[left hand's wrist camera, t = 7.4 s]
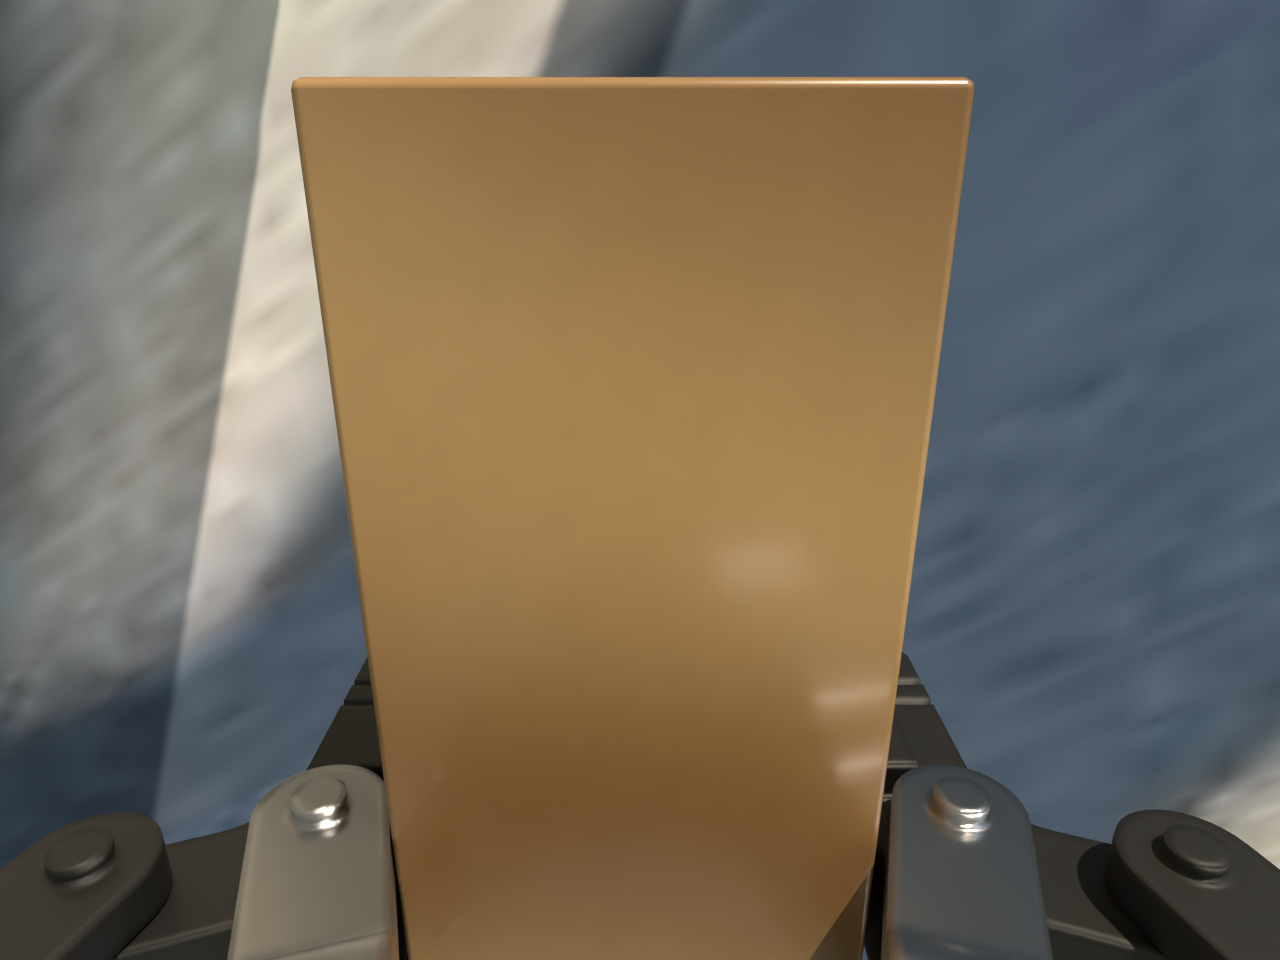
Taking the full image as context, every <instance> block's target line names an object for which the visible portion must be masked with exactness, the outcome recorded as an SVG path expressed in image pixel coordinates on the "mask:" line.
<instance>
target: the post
mask: <svg viewBox="0 0 1280 960" xmlns="http://www.w3.org/2000/svg"><path fill="white" fill-rule="evenodd" d="M291 93H292V100H293V108H294V115H295V122H296V130H297V137H298V145H299V152H300V159H301V167H302V174H303V182H304V189H305V197H306V204H307V211H308V219H309V226H310V234H311V241H312V249H313V256H314V263H315V271H316V278H317V286H318V293H319V301H320V308H321V315H322V323H323V330H324V338H325V345H326V353H327V360H328V367H329V375H330V382H331V390H332V397H333V404H334V412H335V419H336V427H337V434H338V442H339V449H340V456H341V464H342V471H343V479H344V486H345V494H346V501H347V508H348V516H349V523H350V531H351V538H352V546H353V553H354V560H355V568H356V575H357V583H358V590H359V597H360V605H361V612H362V620H363V627H364V635H365V642H366V649H367V657H368V664H369V672H370V679H371V687H372V694H373V701H374V709H375V716H376V724H377V731H378V739H379V746H380V753H381V761H382V768H383V776H384V783H385V791H386V798H387V805H388V813H389V820H390V828H391V835H392V842H393V850H394V857H395V865H396V872H397V880H398V887H399V894H400V902H401V909H402V917H403V924H404V932H405V939H406V946H407V954H408V960H862V956H863V948H864V940H865V932H866V925H867V917H868V909H869V901H870V894H871V886H872V878H873V871H874V863H875V855H876V847H877V840H878V832H879V824H880V816H881V809H882V801H883V793H884V785H885V778H886V770H887V762H888V754H889V747H890V739H891V731H892V723H893V716H894V708H895V700H896V692H897V685H898V677H899V669H900V661H901V654H902V646H903V638H904V630H905V623H906V615H907V607H908V599H909V592H910V584H911V576H912V568H913V561H914V553H915V545H916V538H917V530H918V522H919V514H920V507H921V499H922V491H923V483H924V476H925V468H926V460H927V452H928V445H929V437H930V429H931V421H932V414H933V406H934V398H935V390H936V383H937V375H938V367H939V359H940V352H941V344H942V336H943V328H944V321H945V313H946V305H947V297H948V290H949V282H950V274H951V266H952V259H953V251H954V243H955V235H956V228H957V220H958V212H959V205H960V197H961V189H962V181H963V174H964V166H965V158H966V150H967V143H968V135H969V127H970V119H971V112H972V104H973V96H974V86H973V82H972V81H971V80H969V79H967V78H965V77H300V78H298V79H296V80H294V81H293V82H292V88H291Z"/></svg>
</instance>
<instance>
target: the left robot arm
mask: <svg viewBox="0 0 1280 960" xmlns="http://www.w3.org/2000/svg"><path fill="white" fill-rule="evenodd" d="M864 946H865V949H866V953H867V957H868V960H1280V869H1278V868H1277V867H1276V866H1274V865H1273V864H1272V863H1271V862H1269V861H1268V860H1267V859H1265V858H1264V857H1263V856H1262V855H1260V854H1259V853H1258V852H1257V851H1255V850H1254V849H1253V848H1251V847H1250V846H1249V845H1248V844H1246V843H1245V842H1243V841H1242V840H1240V839H1239V838H1238V837H1236V836H1235V835H1233V834H1231V833H1230V832H1228V831H1226V830H1224V829H1223V828H1221V827H1218V826H1216V825H1214V824H1212V823H1210V822H1208V821H1205V820H1202V819H1200V818H1197V817H1194V816H1191V815H1187V814H1184V813H1179V812H1174V811H1168V810H1143V811H1137V812H1134V813H1131V814H1129V815H1127V816H1125V817H1124V818H1123V819H1121V821H1120V822H1119V823H1118V824H1117V826H1116V829H1115V832H1114V836H1113V840H1112V844H1107V843H1103V842H1099V841H1094V840H1090V839H1086V838H1082V837H1077V836H1073V835H1069V834H1064V833H1060V832H1056V831H1052V830H1048V829H1045V828H1041V827H1038V826H1036V825H1033V824H1031V823H1030V819H1029V816H1028V813H1027V811H1026V809H1025V807H1024V806H1023V804H1022V803H1021V802H1020V800H1019V799H1018V798H1017V797H1016V796H1015V795H1014V794H1013V793H1012V792H1011V791H1010V790H1008V789H1007V788H1006V787H1004V786H1003V785H1002V784H1000V783H999V782H997V781H995V780H994V779H992V778H990V777H988V776H986V775H983V774H981V773H979V772H976V771H973V770H970V769H967V767H966V766H965V764H964V762H963V760H962V758H961V756H960V754H959V752H958V750H957V748H956V747H955V745H954V743H953V741H952V739H951V737H950V735H949V733H948V731H947V730H946V728H945V726H944V724H943V722H942V720H941V718H940V716H939V714H938V713H937V711H936V709H935V707H934V705H931V699H930V697H929V695H928V694H927V692H926V690H925V688H924V686H923V685H921V684H920V678H919V677H918V675H917V673H916V671H915V669H914V667H913V665H912V663H911V661H910V660H909V658H908V656H907V655H905V654H904V653H903V652H902V654H901V661H900V669H899V677H898V685H897V692H896V700H895V708H894V716H893V723H892V731H891V739H890V747H889V754H888V762H887V770H886V778H885V785H884V793H883V801H882V809H881V816H880V824H879V832H878V840H877V847H876V855H875V863H874V871H873V878H872V886H871V894H870V901H869V909H868V917H867V925H866V932H865V940H864ZM0 960H408V954H407V946H406V939H405V932H404V924H403V917H402V909H401V902H400V894H399V887H398V880H397V872H396V865H395V857H394V850H393V842H392V835H391V828H390V820H389V813H388V805H387V798H386V791H385V783H384V776H383V768H382V761H381V753H380V746H379V739H378V731H377V724H376V716H375V709H374V701H373V694H372V687H371V679H370V672H369V664H368V657H367V659H366V661H365V662H364V664H363V666H362V668H361V670H360V672H359V674H358V675H357V677H356V679H355V684H354V686H352V687H351V688H350V690H349V692H348V694H347V696H346V698H345V700H344V705H341V707H340V709H339V711H338V713H337V715H336V716H335V718H334V720H333V722H332V724H331V726H330V728H329V729H328V731H327V733H326V735H325V737H324V739H323V741H322V742H321V744H320V746H319V748H318V750H317V752H316V754H315V755H314V757H313V759H312V761H311V763H310V765H309V767H308V769H307V770H306V771H304V772H301V773H299V774H297V775H294V776H292V777H290V778H288V779H286V780H285V781H283V782H281V783H280V784H278V785H277V786H276V787H274V788H273V789H271V790H270V791H269V792H268V793H267V794H266V795H265V796H264V797H263V798H262V799H261V800H260V802H259V803H258V804H257V806H256V807H255V809H254V811H253V813H252V816H251V819H250V822H248V823H246V824H244V825H241V826H238V827H236V828H233V829H230V830H226V831H222V832H219V833H215V834H210V835H206V836H202V837H197V838H193V839H189V840H184V841H180V842H176V843H172V844H167V845H165V843H164V839H163V835H162V832H161V829H160V827H159V826H158V824H157V823H156V822H155V821H154V820H152V819H151V818H149V817H147V816H144V815H142V814H137V813H131V812H114V813H105V814H100V815H95V816H91V817H88V818H85V819H81V820H78V821H76V822H73V823H71V824H68V825H66V826H64V827H62V828H59V829H57V830H55V831H53V832H52V833H50V834H48V835H46V836H45V837H43V838H41V839H40V840H38V841H37V842H36V843H34V844H33V845H31V846H30V847H29V848H27V849H26V850H25V851H23V852H22V853H21V854H20V855H18V856H17V857H16V858H15V859H13V860H12V861H11V862H9V863H8V864H7V865H6V866H4V867H3V868H2V869H0Z"/></svg>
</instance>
